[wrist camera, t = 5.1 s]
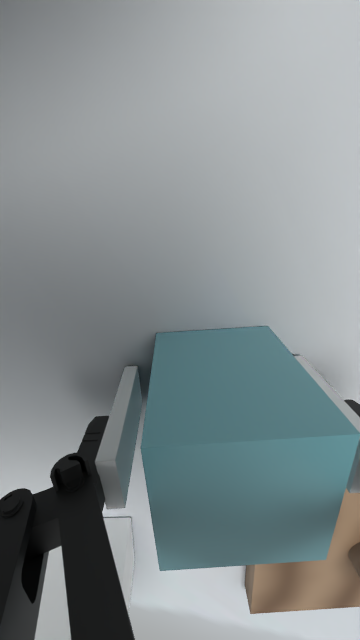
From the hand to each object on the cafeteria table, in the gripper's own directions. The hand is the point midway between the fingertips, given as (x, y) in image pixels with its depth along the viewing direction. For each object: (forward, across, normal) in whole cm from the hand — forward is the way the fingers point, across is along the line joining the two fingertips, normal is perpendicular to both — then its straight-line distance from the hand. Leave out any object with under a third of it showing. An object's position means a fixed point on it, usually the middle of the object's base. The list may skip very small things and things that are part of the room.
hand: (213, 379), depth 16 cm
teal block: (0, 0, 0) cm, 0 cm away
